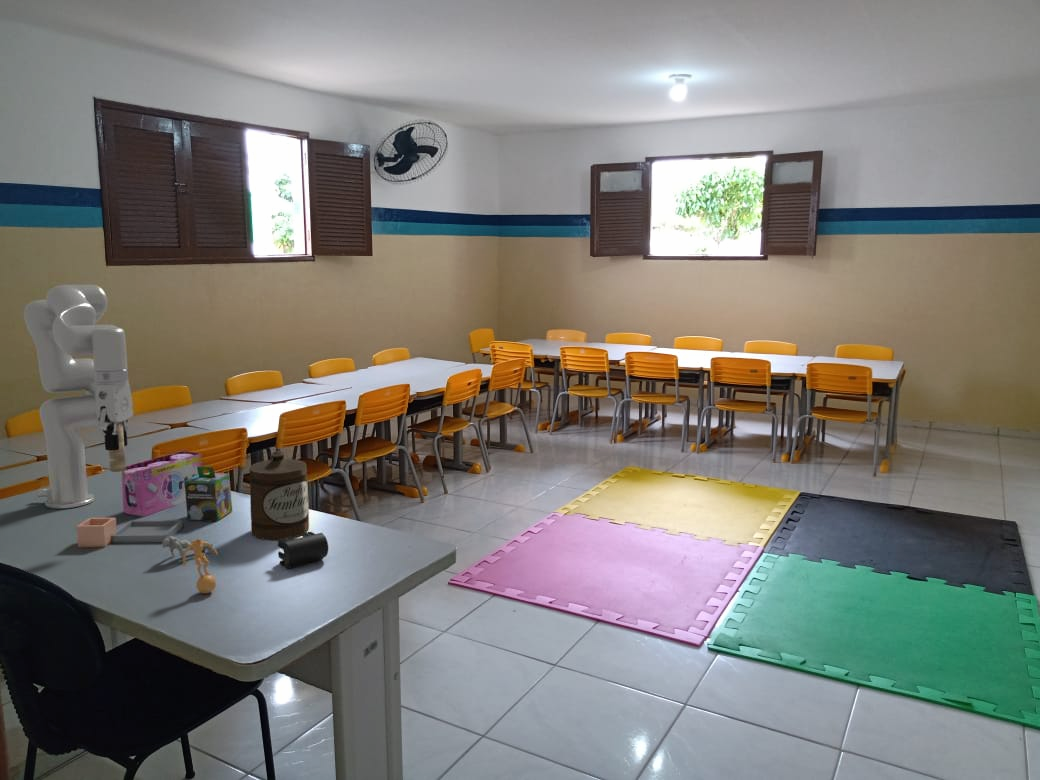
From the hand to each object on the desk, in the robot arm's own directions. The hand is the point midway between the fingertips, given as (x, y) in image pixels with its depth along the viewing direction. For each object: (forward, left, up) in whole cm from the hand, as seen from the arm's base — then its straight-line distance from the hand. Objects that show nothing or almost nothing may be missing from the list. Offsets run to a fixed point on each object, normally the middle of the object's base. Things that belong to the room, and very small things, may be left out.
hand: (116, 447), depth 198 cm
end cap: (+50, -18, -25) cm, 59 cm away
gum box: (-1, +29, -25) cm, 38 cm away
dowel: (0, 0, -6) cm, 6 cm away
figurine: (+32, -34, -25) cm, 53 cm away
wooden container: (+39, +5, -25) cm, 46 cm away
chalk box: (+16, +18, -25) cm, 35 cm away
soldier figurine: (+21, -13, -25) cm, 35 cm away
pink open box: (-5, -3, -24) cm, 25 cm away
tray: (+5, +3, -24) cm, 25 cm away
